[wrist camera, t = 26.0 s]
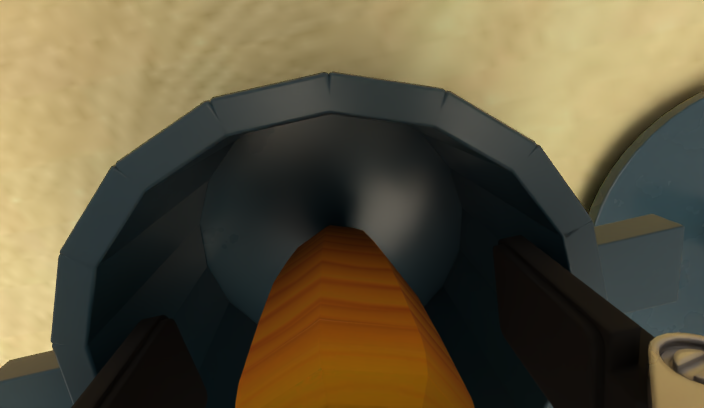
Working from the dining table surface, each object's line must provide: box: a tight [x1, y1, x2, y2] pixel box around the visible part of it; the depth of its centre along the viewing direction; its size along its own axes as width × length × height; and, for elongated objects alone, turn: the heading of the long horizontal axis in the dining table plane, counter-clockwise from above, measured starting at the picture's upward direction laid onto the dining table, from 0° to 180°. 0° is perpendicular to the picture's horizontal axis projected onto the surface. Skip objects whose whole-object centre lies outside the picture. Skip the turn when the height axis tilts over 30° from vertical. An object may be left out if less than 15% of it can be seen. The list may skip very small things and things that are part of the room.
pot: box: [0, 72, 685, 408], centre depth 13 cm, size 14×19×8 cm
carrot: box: [235, 225, 475, 408], centre depth 9 cm, size 5×5×15 cm
